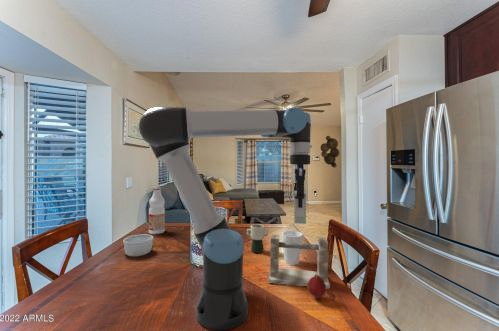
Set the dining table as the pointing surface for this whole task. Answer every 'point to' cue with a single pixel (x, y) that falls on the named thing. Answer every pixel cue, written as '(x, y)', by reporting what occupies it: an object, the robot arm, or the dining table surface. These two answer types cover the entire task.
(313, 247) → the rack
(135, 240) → the ramekin
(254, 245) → the character mug
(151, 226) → the fruit juice
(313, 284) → the onion
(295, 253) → the foam cup
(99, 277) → the dining table surface
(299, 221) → the grey u-shaped block
